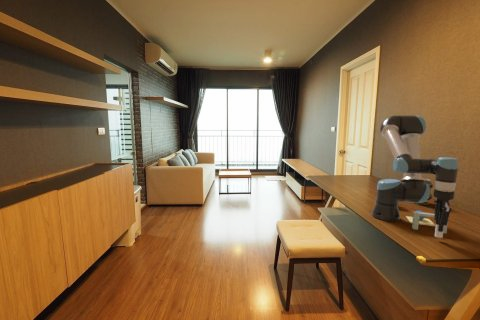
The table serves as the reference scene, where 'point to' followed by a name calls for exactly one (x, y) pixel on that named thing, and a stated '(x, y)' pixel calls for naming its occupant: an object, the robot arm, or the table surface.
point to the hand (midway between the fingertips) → (438, 236)
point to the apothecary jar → (430, 194)
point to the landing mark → (422, 221)
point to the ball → (420, 216)
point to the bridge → (417, 214)
